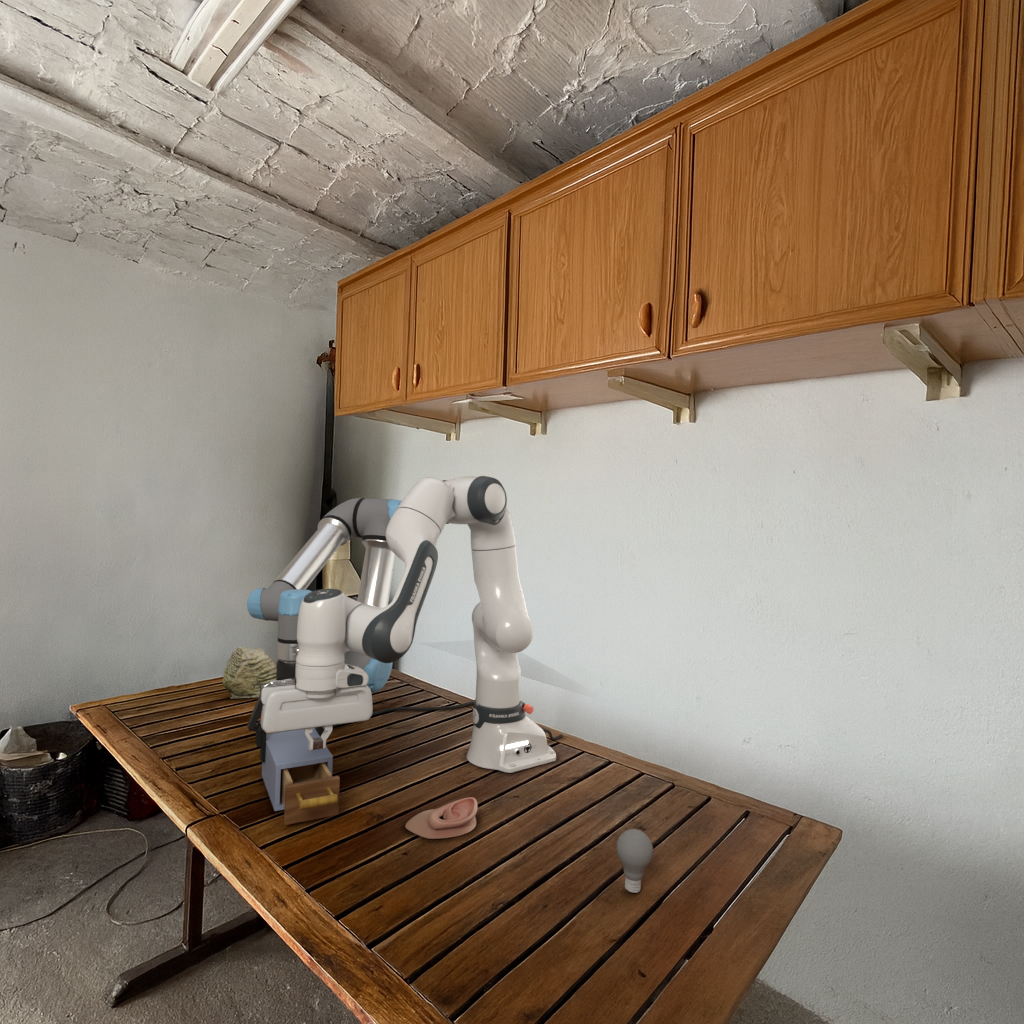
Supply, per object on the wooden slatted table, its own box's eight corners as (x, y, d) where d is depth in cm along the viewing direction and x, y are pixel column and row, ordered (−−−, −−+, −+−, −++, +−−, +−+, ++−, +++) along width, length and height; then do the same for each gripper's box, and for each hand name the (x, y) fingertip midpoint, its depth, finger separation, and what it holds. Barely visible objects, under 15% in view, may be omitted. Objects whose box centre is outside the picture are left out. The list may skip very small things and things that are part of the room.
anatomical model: (399, 813, 120) (420, 787, 131) (398, 834, 120) (419, 806, 131) (467, 823, 117) (482, 796, 128) (466, 845, 117) (481, 815, 128)
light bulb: (610, 879, 108) (613, 822, 108) (644, 879, 109) (647, 822, 109) (619, 902, 102) (622, 840, 102) (655, 901, 103) (658, 840, 103)
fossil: (218, 695, 195) (220, 647, 195) (278, 685, 208) (279, 640, 207) (228, 703, 189) (230, 653, 188) (289, 692, 201) (290, 645, 201)
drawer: (345, 827, 120) (346, 788, 120) (289, 839, 115) (291, 799, 115) (319, 779, 139) (320, 746, 139) (271, 788, 135) (272, 754, 134)
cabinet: (331, 800, 132) (332, 756, 132) (274, 811, 127) (276, 765, 127) (312, 766, 148) (314, 727, 148) (261, 775, 143) (263, 734, 143)
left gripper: (239, 668, 133) (235, 771, 134) (351, 658, 145) (347, 753, 145) (235, 659, 140) (232, 758, 140) (343, 651, 151) (339, 742, 152)
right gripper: (263, 686, 112) (260, 763, 112) (376, 675, 122) (373, 746, 122) (258, 676, 117) (256, 750, 118) (367, 667, 127) (364, 735, 128)
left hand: (290, 755), depth 143 cm, fingers closed on cabinet, 11 cm apart
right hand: (316, 748), depth 120 cm, fingers closed
